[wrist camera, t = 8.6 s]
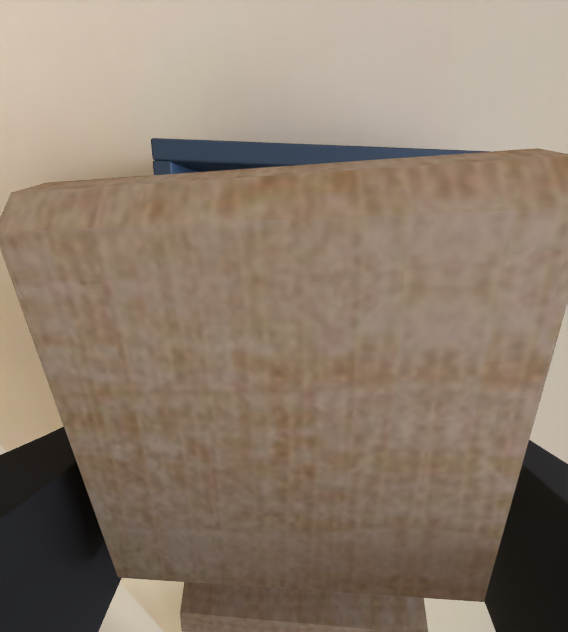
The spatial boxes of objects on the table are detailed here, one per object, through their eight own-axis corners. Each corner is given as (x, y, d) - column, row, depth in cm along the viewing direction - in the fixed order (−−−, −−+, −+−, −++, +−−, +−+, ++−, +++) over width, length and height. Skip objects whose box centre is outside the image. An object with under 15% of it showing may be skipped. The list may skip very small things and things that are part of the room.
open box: (377, 520, 18) (393, 588, 15) (210, 500, 19) (190, 562, 15) (459, 169, 11) (520, 152, 8) (193, 158, 12) (149, 137, 9)
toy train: (262, 501, 18) (210, 831, 8) (231, 204, 12) (-52, 170, 3) (354, 505, 17) (411, 861, 8) (367, 196, 11) (643, 117, 2)
